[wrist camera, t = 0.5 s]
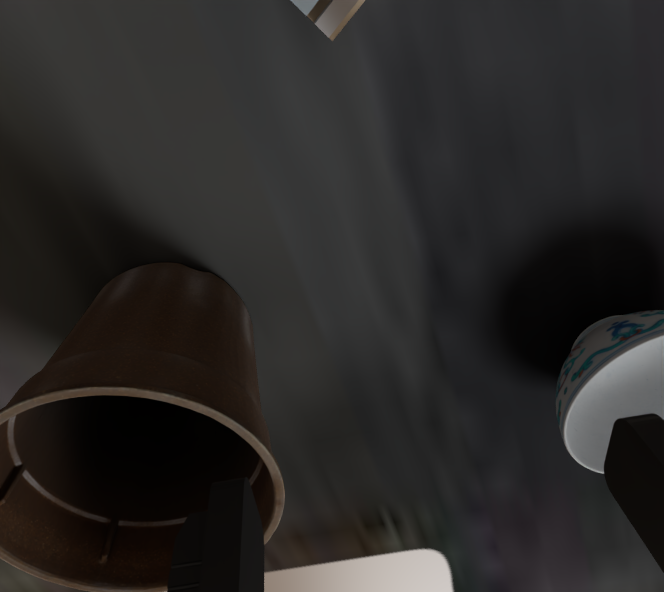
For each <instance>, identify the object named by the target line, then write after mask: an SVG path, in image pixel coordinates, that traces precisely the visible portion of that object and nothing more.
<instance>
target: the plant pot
mask: <svg viewBox="0 0 664 592" xmlns="http://www.w3.org/2000/svg"><path fill="white" fill-rule="evenodd" d="M245 477H247V478H248V480H249V482H250V485H251V489H252V492H253V495H254V498H255V502H256V505H257V508H258V512H259V515H260V518H261V522H262V528H263V535H264V545H265V544H266V542H267V541H268V540H269V539H270V537H271V536H272V534H273V533H274V531H275V530H276V528H277V526H278V524H279V521H280V519H281V516H282V513H283V508H284V500H285V493H284V484H283V478H282V474H281V470H280V468H279V465H278V463H277V461H276V459H275V457H274V455H273V454H272V452H271V445H270V437H269V432H268V427H267V425H266V422H265V419H264V417H263V415H262V413H261V405H260V396H259V388H258V379H257V369H256V359H255V350H254V339H253V326H252V322H251V318H250V315H249V313H248V310H247V308H246V306H245V304H244V303H243V301H242V300H241V298H240V297H239V296H238V294H237V293H236V292H235V291H234V290H233V289H232V288H231V287H230V286H229V285H228V284H227V283H226V282H225V281H223V280H222V279H220V278H219V277H217V276H215V275H214V274H212V273H210V272H202V271H198V270H195V269H192V268H189V267H187V266H185V265H183V264H180V263H172V262H161V263H152V264H146V265H142V266H138V267H135V268H132V269H130V270H128V271H125V272H123V273H121V274H119V275H118V276H116V277H115V278H113V279H112V280H111V281H110V282H108V283H107V284H106V285H105V286H104V287H103V288H102V289H101V291H100V292H99V293H98V295H97V296H96V298H95V299H94V301H93V302H92V303H91V305H90V306H89V308H88V309H87V310H86V312H85V313H84V314H83V316H82V317H81V319H80V320H79V321H78V323H77V324H76V325H75V327H74V328H73V329H72V331H71V332H70V333H69V335H68V336H67V337H66V339H65V340H64V341H63V343H62V344H61V345H60V347H59V348H58V349H57V351H56V352H55V353H54V355H53V356H52V357H51V359H50V360H49V361H48V363H47V364H46V365H45V367H44V368H43V369H42V370H41V371H40V372H38V373H37V374H35V375H34V376H33V377H32V378H30V379H29V380H28V381H27V382H26V383H25V384H24V385H23V386H22V387H21V388H20V389H19V390H18V391H17V393H16V394H15V395H14V397H13V398H12V399H11V400H10V402H9V403H8V404H7V406H6V407H4V408H2V409H1V410H0V558H1V559H2V560H4V561H5V562H7V563H9V564H11V565H13V566H14V567H16V568H18V569H20V570H22V571H24V572H26V573H29V574H31V575H33V576H36V577H38V578H41V579H44V580H47V581H49V582H53V583H57V584H60V585H64V586H67V587H71V588H76V589H79V590H84V591H91V592H164V591H168V588H167V585H168V579H169V573H170V570H171V561H172V555H173V549H174V543H175V538H176V536H177V534H178V533H179V531H180V529H181V527H182V526H183V524H184V522H185V520H186V518H187V517H188V515H189V514H191V513H197V512H203V511H208V503H209V494H210V488H211V485H212V483H214V482H220V481H227V480H233V479H239V478H245Z"/></svg>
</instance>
